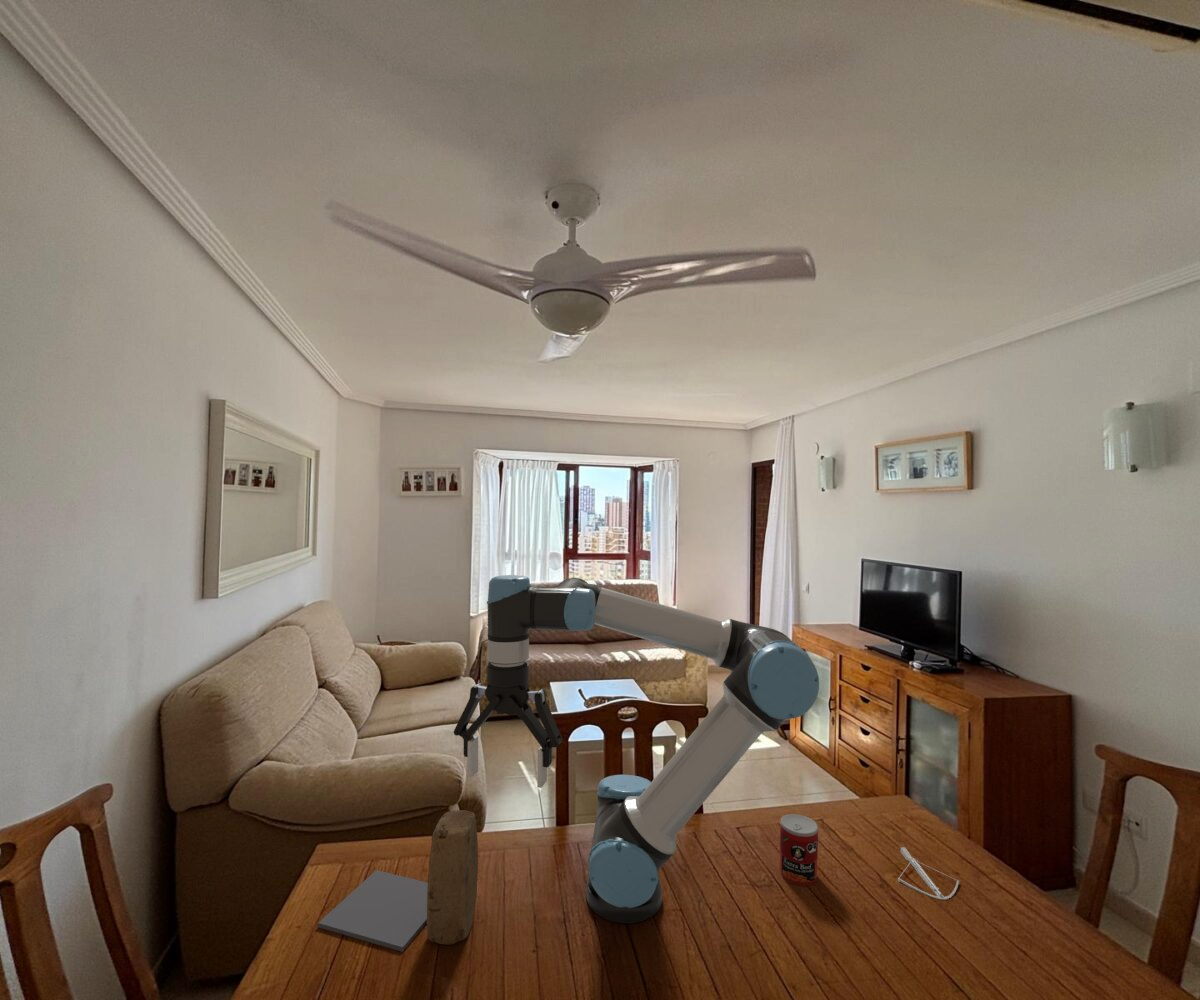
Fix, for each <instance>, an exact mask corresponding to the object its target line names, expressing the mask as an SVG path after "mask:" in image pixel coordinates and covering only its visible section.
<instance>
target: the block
mask: <svg viewBox="0 0 1200 1000" xmlns="http://www.w3.org/2000/svg"><path fill="white" fill-rule="evenodd" d="M476 819H477V818H476V815H475V813H474V812H472V811H469V810H466V809H465V810H462V809H459V810H458V809H457V810H449V811H447V812H445V813H443V815H442V816H441V817H440V819H439V820H438V822H437V824H436V826H435V829H434V830H433V832H432V836H431V846H430V852H429V857H428V858H429V859H428V873H427V883H428V890H427V923H426V933H427V938H428V939H429V941H430V942H433V943H437V944H439V945H449V946H450V945H454V944H455V943H458V942H460V941H464V940H465V939H466V938H467V937H468V936H469V935H470V931H471V929H472V926H473V922H474V917H475V916H474V915H475V910H476V909H475V908H476V904H477V903H476V902H477V891H478V876H479V875H478V874H479V871H478V869H479V868H478V867H479V844H478V843H479V841H478V830H477V820H476Z"/></svg>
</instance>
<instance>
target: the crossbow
mask: <svg viewBox="0 0 1200 1000" xmlns="http://www.w3.org/2000/svg"><path fill="white" fill-rule="evenodd" d="M900 853H901V855H902V856H903V857H904V858H905V860H906V861H908V865H906V867H905V868H904V870H903V872H901V874H900V876H899V877H897V882H899V883H900V884H903V885H905V886H907V887H908V888H910V889H913V890H914V891H916V892H917V893H918V892H919V893H921V894H924V895H925V896H928V897H930V898H934V899H937V900H940V901H942V900H943V901H947V900H950V899H951V898H953V896H954V895H955V893H956V892H957V891H958V887H959V885H960V880H959V879H956V878H954V877H952V876H949V875H948V874H945V873H944V872H941V871H939V870H936V869H935V868H933V867H931V866H929V865H926V864H924V863H922V862H920V861H918V860H916V858H914V857H913V856H912V855H911V853H910V851H908V849H907V847H904V846H903V847H900ZM920 864H922V865H923V866H926V867H928V868H929V869H931V870H933V871H936V872H938V873H941V874H942V875H944V876H947V877H948V878H950V879H953V880H955V881H956V883H955V887H954V888H953V890H952V892H951V893H950V894H949V895H947V896H944V895H943V894H942V892H941V891H940V888H939V887H937V886H936V884H935V883H934V882H933V881H932V879H931V878H930V877H929V875H928V874H927V873H926V872H925V870H924V869H923V868H922V867H923V866H921V865H920ZM909 865H911V866H912V867H913V868H914V869H915V871H916V872H917V874H918V875H919V876H920V877H921V878H922V880H923V881H924V882H925V884H927V886H928V887H929V888H930V889H931V891H932V892H933V893H934V894H935V895H933V894H930V893H928V892H926V891H924V890H923V889H919V888H918V887H916V886H914V885H912V884H909V883H908V882H906V881H905V880H903V879H901V877H902V875H903V874H904V872H906V870H907V869H908V867H909ZM949 898H950V899H949Z"/></svg>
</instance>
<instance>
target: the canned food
mask: <svg viewBox="0 0 1200 1000" xmlns="http://www.w3.org/2000/svg"><path fill="white" fill-rule="evenodd" d="M818 827H819V826H818V823H817V822H816V821H815V820H814V819H812V818H811V817H808V816H805V815H803V814H800V813H799V814H796V813H788V814H785V815H783V816H781V818H780V828H779V830H780V834H779V871H780V874H781V876H782V877H783V878H784V879H785V880H786V881H788V882H789V883H792V884H794V885H798V886H811V885H812V884H814V883H815V882H816V879H817V877H818V852H819V851H818V848H819V847H818V846H819V828H818Z"/></svg>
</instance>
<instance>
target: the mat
mask: <svg viewBox="0 0 1200 1000" xmlns="http://www.w3.org/2000/svg"><path fill="white" fill-rule="evenodd" d="M427 890H428V881H427V882H426V881H422V880H418V879H415V878H410V877H407V876H406V877H405V876H401V875H398V874H395V873H394V874H393V873H390V872H386V871H381V870H378V869H376V870H375V871H374V872H372V874H370V875H369V876H368V877H367V878H366V879H364V881H362V882H361V883H360V884H359V885H358V886H357V887H356V888H355V889H354V890H352V892H350V893H349V894H348V895H347V896H346V897H345V898H344V899H342V900H341V901H340V902H339V903H338V905H336V906H335V907H334V908H333V909H332V910H331V911H330V912H328V913H327V914H326V915H325V916H324V917H323V918H322V919H321V920H320V921H319V922H318V924H317V928H319V929H322V930H326V931H330V932H333V933H336V934H339V935H343V936H346V937H349V938H354V939H357V940H360V941H364V942H367V943H370V944H373V945H374V944H375V945H378V946H380V947H381V946H382V947H384V948H389V949H391V950H395V951H399V952H401V953H403V952H404V951H405V949H407V948H408V946H410V944H411V943H412V942H413V940H414V939H415V938H416V937H417V935H418V934H419V933H420V932H421V931H422V930H423V928H424V927H425V926H427Z"/></svg>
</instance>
